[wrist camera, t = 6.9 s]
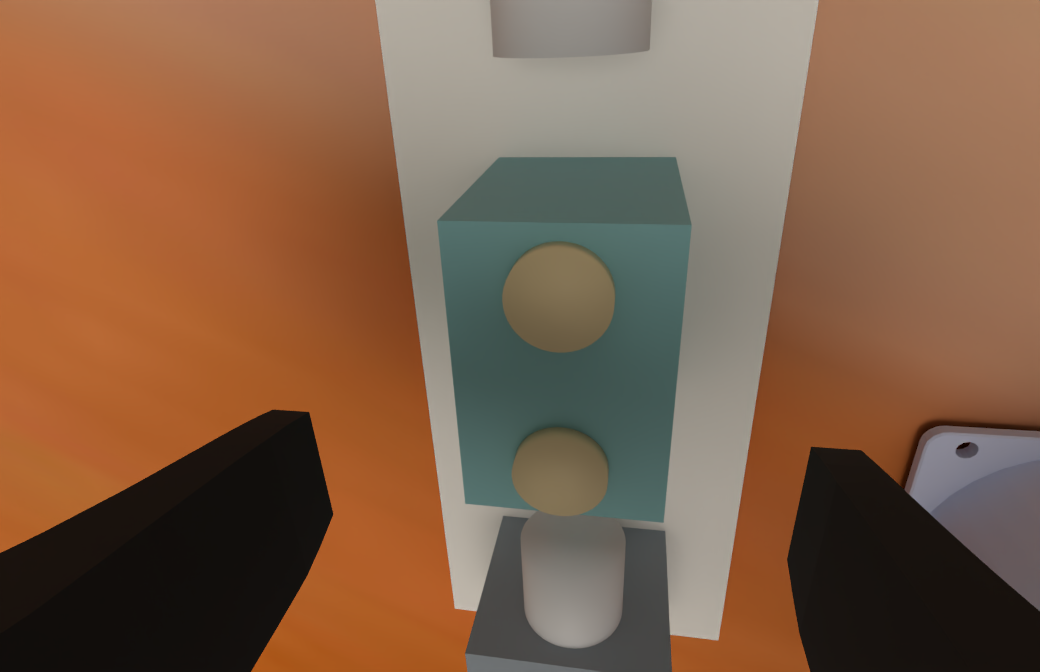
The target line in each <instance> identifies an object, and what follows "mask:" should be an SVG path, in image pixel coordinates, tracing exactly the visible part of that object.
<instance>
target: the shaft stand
mask: <svg viewBox="0 0 1040 672" xmlns="http://www.w3.org/2000/svg"><path fill="white" fill-rule="evenodd" d="M818 2H819V0H375V3H376V10H377V18H378V25H379V33H380V41H381V48H382V56H383V64H384V71H385V79H386V86H387V94H388V102H389V109H390V117H391V125H392V132H393V140H394V147H395V155H396V163H397V170H398V178H399V186H400V193H401V201H402V208H403V216H404V224H405V231H406V239H407V246H408V254H409V262H410V269H411V277H412V285H413V292H414V300H415V307H416V315H417V323H418V330H419V338H420V346H421V353H422V361H423V368H424V376H425V384H426V391H427V399H428V407H429V414H430V422H431V429H432V437H433V445H434V452H435V460H436V468H437V475H438V483H439V490H440V498H441V506H442V513H443V521H444V529H445V536H446V544H447V551H448V559H449V567H450V574H451V582H452V589H453V597H454V605H455V609H463V610H471V611H477V613H476V616H475V620H474V624H473V627H472V631H471V634H470V638H469V642H468V645H467V649H466V653H465V655H466V663H467V671H468V672H672V666H671V644H670V635H678V636H686V637H694V638H702V639H711V640H718V639H719V633H720V626H721V620H722V614H723V607H724V601H725V595H726V588H727V582H728V576H729V569H730V563H731V556H732V550H733V544H734V537H735V531H736V525H737V518H738V512H739V506H740V499H741V493H742V486H743V480H744V474H745V467H746V461H747V455H748V448H749V442H750V435H751V429H752V423H753V416H754V410H755V404H756V397H757V391H758V385H759V378H760V372H761V365H762V359H763V353H764V346H765V340H766V334H767V327H768V321H769V314H770V308H771V302H772V295H773V289H774V283H775V276H776V270H777V264H778V257H779V251H780V244H781V238H782V232H783V225H784V219H785V213H786V206H787V200H788V194H789V187H790V181H791V174H792V168H793V162H794V155H795V149H796V143H797V136H798V130H799V123H800V117H801V111H802V104H803V98H804V92H805V85H806V79H807V73H808V66H809V60H810V53H811V47H812V41H813V34H814V28H815V22H816V15H817V9H818ZM499 157H676V160H677V164H678V169H679V173H680V177H681V181H682V186H683V190H684V194H685V198H686V203H687V207H688V211H689V215H690V220H691V224H692V228H691V238H690V249H689V259H688V270H687V281H686V291H685V302H684V312H683V323H682V334H681V344H680V355H679V365H678V376H677V387H676V397H675V408H674V418H673V429H672V439H671V450H670V461H669V471H668V482H667V492H666V503H665V514H664V523H660V522H650V521H640V520H629V519H619V518H608V517H598V516H588V515H574V516H557V515H551V514H547V513H544V512H542V511H535V510H525V509H515V508H504V507H494V506H483V505H473V504H465V497H464V487H463V477H462V466H461V456H460V446H459V436H458V426H457V416H456V406H455V396H454V386H453V376H452V366H451V356H450V346H449V336H448V326H447V316H446V306H445V296H444V286H443V276H442V266H441V256H440V246H439V236H438V225H437V220H438V219H439V218H440V217H441V216H442V215H443V214H444V213H445V212H446V211H447V210H448V209H449V208H450V207H451V206H452V205H453V204H454V203H455V202H456V201H457V200H458V199H459V198H460V197H461V196H462V195H463V194H464V193H465V192H466V191H467V190H468V189H469V188H470V186H471V185H472V184H473V183H474V182H475V181H476V180H477V179H478V178H479V177H480V176H481V175H482V174H483V173H484V172H485V171H486V170H487V169H488V168H489V167H490V166H491V165H492V164H493V163H494V162H495V161H496V160H497V159H498V158H499Z"/></svg>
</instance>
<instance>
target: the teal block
mask: <svg viewBox="0 0 1040 672" xmlns="http://www.w3.org/2000/svg"><path fill="white" fill-rule="evenodd" d="M437 225H438V236H439V246H440V256H441V266H442V276H443V286H444V296H445V306H446V316H447V326H448V336H449V346H450V356H451V366H452V376H453V386H454V396H455V406H456V416H457V426H458V436H459V446H460V456H461V466H462V477H463V487H464V497H465V504H473V505H483V506H494V507H504V508H515V509H525V510H535V511H542V512H544V513H547V514H551V515H557V516H574V515H588V516H598V517H608V518H619V519H629V520H640V521H650V522H660V523H664V514H665V503H666V492H667V482H668V471H669V461H670V450H671V439H672V429H673V418H674V408H675V397H676V387H677V376H678V365H679V355H680V344H681V334H682V323H683V312H684V302H685V291H686V281H687V270H688V259H689V249H690V238H691V228H692V224H691V220H690V215H689V211H688V207H687V203H686V198H685V194H684V190H683V186H682V181H681V177H680V173H679V169H678V164H677V160H676V157H499V158H498V159H497V160H496V161H495V162H494V163H493V164H492V165H491V166H490V167H489V168H488V169H487V170H486V171H485V172H484V173H483V174H482V175H481V176H480V177H479V178H478V179H477V180H476V181H475V182H474V183H473V184H472V185H471V186H470V188H469V189H468V190H467V191H466V192H465V193H464V194H463V195H462V196H461V197H460V198H459V199H458V200H457V201H456V202H455V203H454V204H453V205H452V206H451V207H450V208H449V209H448V210H447V211H446V212H445V213H444V214H443V215H442V216H441V217H440V218H439V219H438V220H437Z"/></svg>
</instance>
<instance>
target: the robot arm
mask: <svg viewBox="0 0 1040 672" xmlns="http://www.w3.org/2000/svg"><path fill="white" fill-rule="evenodd" d="M966 442H971V443H970V444H969V446H967V447H965V448H963V449H956V448H957V447H958V446H959V445H961V444H963V443H966ZM332 516H333V511H332V507H331V503H330V498H329V494H328V490H327V486H326V481H325V477H324V473H323V469H322V465H321V460H320V456H319V452H318V448H317V443H316V439H315V435H314V431H313V427H312V422H311V418H310V414H309V412H299V411H284V410H271V411H269V412H267V413H265V414H262V415H260V416H258V417H256V418H254V419H252V420H250V421H248V422H246V423H244V424H242V425H240V426H239V427H237V428H235V429H233V430H231V431H229V432H228V433H226V434H224V435H222V436H220V437H218V438H217V439H215V440H213V441H211V442H209V443H208V444H206V445H204V446H202V447H201V448H199V449H197V450H195V451H193V452H192V453H190V454H188V455H186V456H185V457H183V458H181V459H179V460H177V461H176V462H174V463H172V464H170V465H168V466H167V467H165V468H163V469H161V470H159V471H158V472H156V473H154V474H152V475H151V476H149V477H147V478H145V479H143V480H142V481H140V482H138V483H136V484H134V485H133V486H131V487H129V488H127V489H125V490H123V491H121V492H120V493H118V494H116V495H114V496H112V497H110V498H108V499H106V500H104V501H102V502H100V503H99V504H97V505H95V506H93V507H91V508H89V509H87V510H85V511H83V512H81V513H79V514H77V515H76V516H74V517H72V518H70V519H68V520H66V521H64V522H62V523H60V524H58V525H56V526H55V527H53V528H51V529H49V530H47V531H45V532H43V533H41V534H39V535H37V536H35V537H33V538H31V539H29V540H27V541H25V542H23V543H21V544H18V545H16V546H14V547H12V548H10V549H8V550H6V551H4V552H2V553H0V672H251V670H252V669H253V667H254V665H255V664H256V662H257V660H258V659H259V657H260V655H261V654H262V652H263V650H264V649H265V647H266V645H267V644H268V642H269V640H270V639H271V637H272V635H273V633H274V632H275V630H276V628H277V627H278V625H279V623H280V622H281V620H282V618H283V617H284V615H285V613H286V611H287V610H288V608H289V606H290V605H291V603H292V601H293V599H294V598H295V596H296V594H297V592H298V591H299V589H300V587H301V585H302V584H303V582H304V580H305V578H306V577H307V575H308V573H309V570H310V568H311V566H312V564H313V561H314V559H315V557H316V555H317V553H318V550H319V548H320V546H321V543H322V541H323V538H324V536H325V533H326V531H327V528H328V526H329V524H330V521H331V519H332ZM787 561H788V567H789V574H790V580H791V586H792V593H793V599H794V605H795V610H796V616H797V622H798V627H799V633H800V637H801V640H802V644H803V647H804V651H805V654H806V658H807V661H808V665H809V668H810V672H1040V431H1026V430H1010V429H993V428H977V427H960V426H937V427H934V428H931V429H929V430H928V431H926V432H925V433H924V434H923V435H922V437H921V439H920V441H919V444H918V447H917V451H916V454H915V457H914V460H913V463H912V467H911V470H910V473H909V476H908V479H907V483H906V486H905V489H903V488H902V487H901V486H900V485H899V484H898V483H896V482H895V481H894V480H893V479H892V478H891V477H890V476H889V475H888V474H887V473H886V472H885V471H884V470H882V469H881V468H880V467H879V466H878V465H877V464H876V463H875V462H874V461H873V460H871V459H870V458H869V457H868V456H867V455H866V454H865V453H864V452H862V451H861V450H848V449H834V448H819V447H811V451H810V455H809V460H808V465H807V469H806V474H805V479H804V483H803V488H802V493H801V497H800V502H799V507H798V511H797V516H796V521H795V526H794V530H793V535H792V540H791V544H790V549H789V554H788V558H787Z"/></svg>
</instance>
